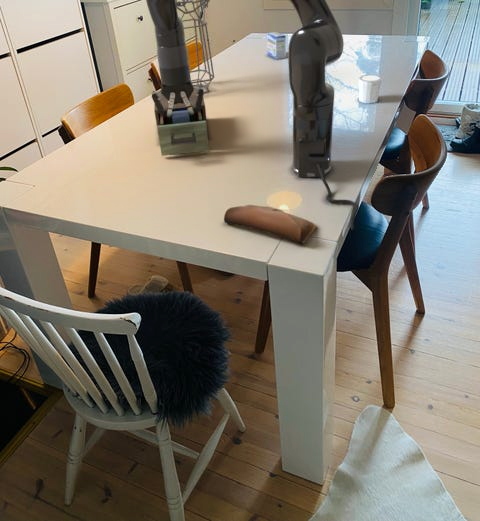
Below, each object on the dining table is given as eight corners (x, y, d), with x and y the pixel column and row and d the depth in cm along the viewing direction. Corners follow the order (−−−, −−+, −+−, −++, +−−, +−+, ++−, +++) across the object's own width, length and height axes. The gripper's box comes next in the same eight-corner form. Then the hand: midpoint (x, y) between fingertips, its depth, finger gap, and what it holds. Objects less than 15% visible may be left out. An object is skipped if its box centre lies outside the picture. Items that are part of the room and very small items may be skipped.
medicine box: (267, 55, 208) (266, 33, 203) (276, 53, 209) (276, 31, 204) (276, 59, 202) (275, 36, 197) (286, 57, 203) (285, 35, 198)
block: (191, 131, 134) (189, 115, 132) (174, 133, 134) (172, 117, 131) (190, 125, 138) (188, 110, 135) (174, 127, 138) (171, 111, 135)
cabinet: (208, 139, 143) (205, 105, 137) (159, 144, 142) (154, 110, 136) (204, 118, 156) (201, 87, 150) (159, 123, 155) (154, 91, 149)
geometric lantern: (179, 101, 170) (164, -16, 149) (167, 88, 181) (151, -22, 160) (223, 92, 174) (214, -23, 153) (208, 80, 186) (197, -28, 165)
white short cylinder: (354, 102, 159) (356, 80, 155) (360, 95, 164) (362, 73, 160) (376, 105, 156) (378, 82, 152) (381, 97, 161) (384, 75, 157)
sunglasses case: (318, 223, 104) (312, 207, 98) (306, 253, 102) (299, 238, 96) (243, 204, 112) (233, 188, 106) (230, 232, 110) (220, 217, 104)
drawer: (210, 157, 131) (207, 128, 126) (161, 163, 130) (157, 134, 125) (204, 129, 146) (202, 102, 141) (161, 134, 145) (157, 107, 141)
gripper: (144, 69, 122) (155, 136, 132) (203, 64, 123) (209, 130, 133) (145, 61, 128) (155, 125, 138) (201, 55, 129) (207, 120, 139)
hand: (182, 127), depth 136 cm, fingers closed on block, 4 cm apart
